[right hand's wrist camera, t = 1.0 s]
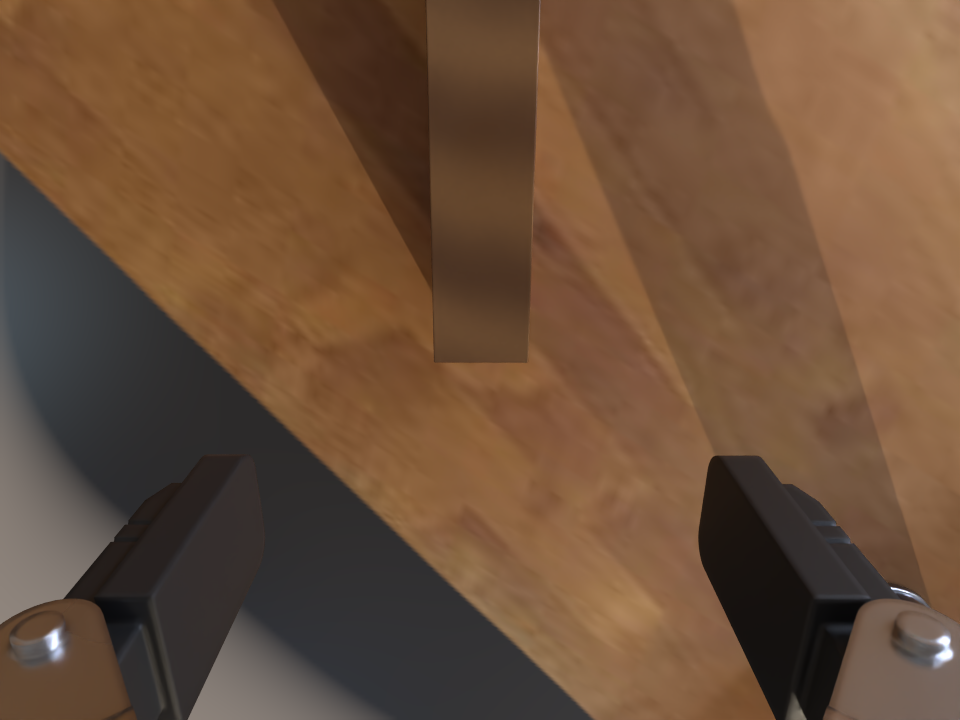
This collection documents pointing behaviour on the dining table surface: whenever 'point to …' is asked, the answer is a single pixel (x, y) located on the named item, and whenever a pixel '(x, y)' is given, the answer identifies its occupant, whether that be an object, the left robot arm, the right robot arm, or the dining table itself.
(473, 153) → the beam
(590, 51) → the dining table surface
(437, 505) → the dining table surface
